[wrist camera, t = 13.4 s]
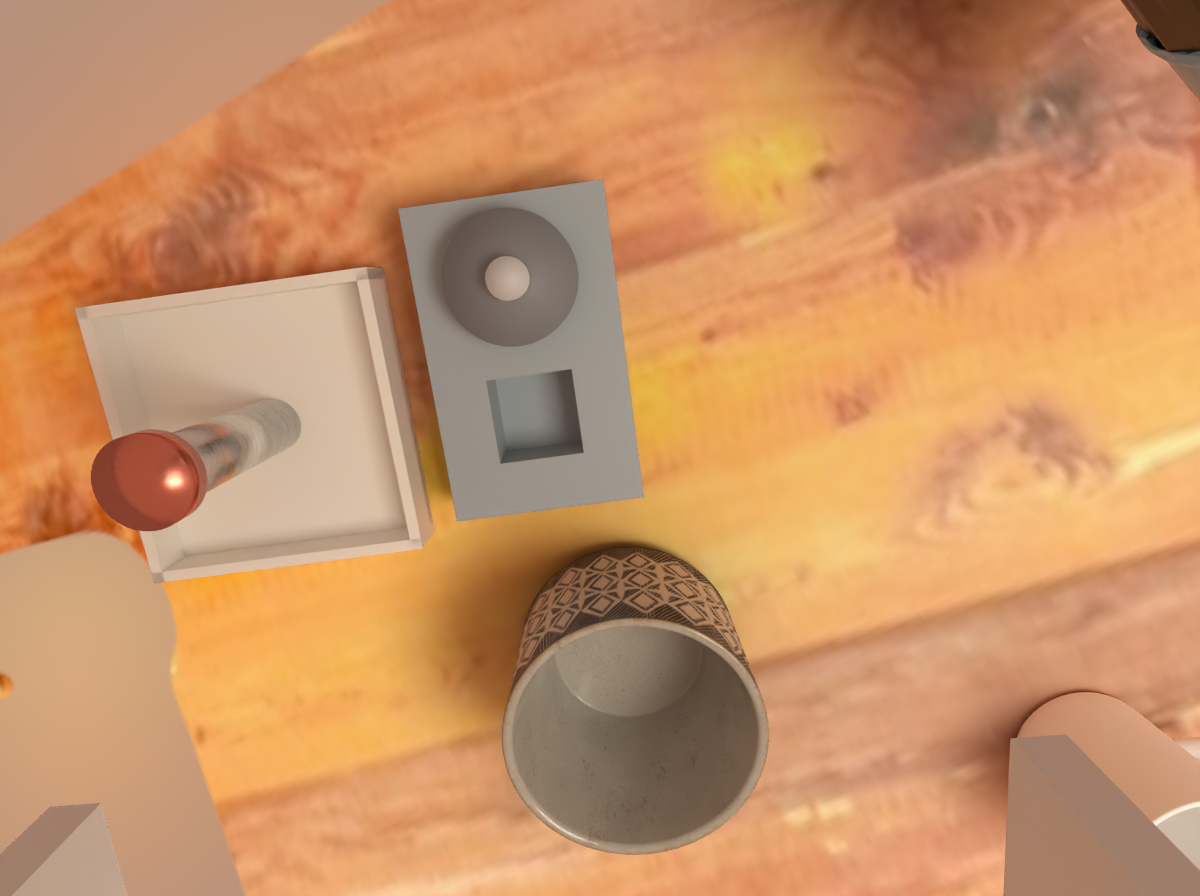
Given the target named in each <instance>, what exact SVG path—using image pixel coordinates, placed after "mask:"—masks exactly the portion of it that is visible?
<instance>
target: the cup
mask: <svg viewBox="0 0 1200 896" xmlns="http://www.w3.org/2000/svg"><path fill="white" fill-rule="evenodd" d="M1064 734H1066V735H1067V736H1068V737H1069V738H1070V739H1071V740H1072V741H1073V742H1074V743H1075V744H1076V745H1077V746H1078V747H1079V748H1080V749H1081V750H1082V751H1083V752H1084V753H1085V754H1086V755H1087V756H1088V757H1089V758H1090V759H1091V760H1092V761H1093V762H1094V763H1095V764H1096V765H1097V766H1098V767H1099V768H1100V769H1101V770H1102V772H1103V773H1104V774H1105V775H1106V776H1107V777H1108V778H1109V779H1110V780H1111V781H1112V782H1113V783H1114V784H1115V785H1116V786H1117V787H1118V788H1119V789H1120V790H1121V791H1122V792H1123V793H1124V794H1125V795H1126V796H1127V797H1128V798H1129V799H1130V800H1131V801H1132V802H1133V803H1134V804H1135V805H1136V806H1137V807H1138V808H1139V809H1140V810H1141V811H1142V812H1143V813H1144V814H1145V815H1146V816H1147V817H1148V818H1149V819H1150V820H1151V821H1152V822H1153V823H1154V824H1155V825H1156V826H1157V827H1158V828H1159V830H1160V831H1161V832H1162V833H1163V834H1164V835H1165V836H1166V837H1167V838H1168V839H1169V840H1170V841H1171V842H1172V843H1173V844H1174V845H1175V846H1176V847H1177V848H1178V849H1179V850H1180V851H1181V852H1182V853H1183V854H1184V855H1185V856H1186V857H1187V858H1188V859H1189V860H1190V861H1191V862H1192V863H1193V864H1194V865H1195V866H1196V867H1197V868H1198V869H1199V870H1200V761H1198V760H1197V759H1200V738H1196V737H1191V738H1178V739H1171V738H1170V737H1168V736H1167V735H1166V734H1165V733H1163V732H1162V731H1161V730H1160V729H1158V728H1157V727H1156V726H1155V725H1153V724H1152V723H1151V722H1150V721H1148V720H1147V719H1146V718H1145V717H1143V716H1142V715H1141V714H1140V713H1138V712H1137V711H1136V710H1134V709H1133V708H1132V707H1130V706H1129V705H1127V704H1125V703H1124V702H1122V701H1120V700H1118V699H1116V698H1114V697H1111V696H1108V695H1104V694H1100V693H1093V692H1078V693H1071V694H1066V695H1063V696H1060V697H1057V698H1054V699H1052V700H1050V701H1048V702H1047V703H1045V704H1043V705H1042V706H1040V707H1039V708H1038V709H1037V710H1035V711H1034V712H1033V713H1032V714H1031V715H1030V716H1029V717H1028V719H1027V720H1026V721H1025V722H1024V724H1023V725H1022V727H1021V729H1020V731H1019V733H1018V735H1017V738H1022V737H1036V736H1050V735H1064Z"/></svg>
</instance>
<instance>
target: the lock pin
mask: <svg viewBox="0 0 1200 896" xmlns="http://www.w3.org/2000/svg"><path fill="white" fill-rule="evenodd" d="M300 432H301V422H300V418H299V416H298V414H297V412H296V411H295V410H294V409H293V408H292V407H291V406H290V405H289V404H288V403H286V402H284V401H282V400H279V399H265V400H262V401H259V402H256V403H254V404H251V405H248V406H245V407H242V408H240V409H237V410H234V411H231V412H228V413H226V414H223V415H220V416H217V417H214V418H211V419H209V420H206V421H203V422H200V423H197V424H195V425H192V426H189V427H186V428H183V429H181V430H178V431H175V432H172V433H171V432H168V431H164V430H159V429H147V430H141V431H138V432H135V433H132V434H129V435H126V436H123V437H120V438H117V439H114V440H113V441H111V442H109V443H108V444H106V445H105V446H104V447H103V448H102V449H101V450H100V451H99V453H98V454H97V456H96V458H95V460H94V462H93V465H92V470H91V483H92V488H93V492H94V494H95V497H96V499H97V501H98V503H99V504H100V506H101V507H102V508H103V510H104V511H105V512H106V513H107V514H108V515H109V516H110V517H111V518H113V519H114V520H115V521H117V522H118V523H120V524H122V525H124V526H126V527H128V528H131V529H134V530H139V531H158V530H162V529H165V528H168V527H170V526H172V525H173V524H175V523H177V522H179V521H180V520H182V519H184V518H186V517H187V516H189V515H190V514H192V513H193V512H194V511H195V510H196V509H198V507H199V506H200V505H201V503H202V501H203V500H204V497H205V495H206V492H208V491H210V490H212V489H214V488H216V487H217V486H219V485H221V484H223V483H225V482H227V481H229V480H230V479H232V478H234V477H236V476H238V475H240V474H242V473H243V472H245V471H247V470H249V469H251V468H253V467H255V466H256V465H258V464H260V463H262V462H264V461H266V460H268V459H269V458H271V457H273V456H275V455H277V454H279V453H281V452H282V451H284V450H286V449H288V448H290V447H291V446H293V445H294V444H295V443H296V441H297V440H298V438H299V436H300Z"/></svg>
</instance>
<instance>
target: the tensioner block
mask: <svg viewBox="0 0 1200 896" xmlns="http://www.w3.org/2000/svg"><path fill="white" fill-rule="evenodd" d="M398 211H399V217H400V222H401V227H402V233H403V238H404V243H405V248H406V254H407V259H408V264H409V270H410V275H411V280H412V286H413V291H414V296H415V301H416V307H417V312H418V317H419V323H420V328H421V333H422V339H423V344H424V349H425V354H426V360H427V365H428V370H429V376H430V381H431V386H432V392H433V397H434V402H435V407H436V413H437V418H438V423H439V429H440V434H441V439H442V444H443V450H444V455H445V460H446V466H447V471H448V476H449V482H450V487H451V492H452V497H453V503H454V508H455V513H456V519H457V521H464V520H472V519H480V518H487V517H495V516H503V515H510V514H518V513H526V512H534V511H541V510H549V509H557V508H564V507H572V506H580V505H587V504H595V503H603V502H610V501H618V500H626V499H633V498H641V497H644V494H643V487H642V479H641V471H640V463H639V455H638V448H637V440H636V432H635V424H634V416H633V409H632V401H631V393H630V385H629V377H628V369H627V362H626V354H625V346H624V338H623V330H622V323H621V315H620V307H619V299H618V291H617V284H616V276H615V268H614V260H613V252H612V244H611V237H610V229H609V221H608V213H607V205H606V198H605V190H604V182H603V179H602V180H595V181H588V182H581V183H574V184H567V185H560V186H553V187H546V188H539V189H532V190H525V191H518V192H511V193H505V194H498V195H491V196H484V197H477V198H470V199H463V200H456V201H449V202H442V203H435V204H428V205H421V206H414V207H407V208H400V209H398Z"/></svg>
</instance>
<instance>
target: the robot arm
mask: <svg viewBox="0 0 1200 896" xmlns="http://www.w3.org/2000/svg"><path fill="white" fill-rule="evenodd" d="M1121 1H1122V3H1123V4H1124V6H1125V7H1126V8H1127V10H1128V11H1129V12H1130V14H1131V15H1132V17H1133V18H1134V19H1135V21H1136V22H1137V26H1136V34H1137V35H1138V37H1139V39H1140V40H1141V42H1142V44H1143V45H1144V46H1145V47H1146V48H1147V49H1148V50H1149V51H1150V52H1151V53H1153V54H1155V55H1157V56H1158V57H1160V58H1162V59H1164V60H1166V61H1167V62H1168V63H1169V64H1170V66H1171V67H1172V68H1173V69H1174V70H1175V72H1176V73H1177V74H1178V75H1179V76H1180V78H1181V79H1182V80H1183V81H1184V83H1185V84H1186V85H1187V86H1188V87H1189V89H1190V90H1191V91H1192V92H1193V93H1194V95H1195V96H1196V97H1197V98H1198V99H1199V100H1200V0H1121ZM0 896H128V895H127V891H126V887H125V884H124V881H123V877H122V874H121V871H120V867H119V864H118V860H117V857H116V854H115V850H114V847H113V843H112V840H111V837H110V833H109V830H108V826H107V823H106V820H105V816H104V813H103V809H102V806H101V804H100V803H97V804H83V805H70V806H55V807H49V808H48V809H47V810H46V811H45V812H44V813H43V814H42V815H41V816H40V817H39V818H38V819H37V820H36V821H35V822H34V823H33V824H32V825H31V826H30V827H28V829H26V830H25V831H24V832H23V833H22V834H21V835H20V836H19V837H18V838H17V839H16V840H15V841H14V842H13V843H12V844H11V845H10V846H9V847H7V848H6V849H5V850H4V851H3V853H1V854H0ZM1003 896H1200V870H1199V869H1198V868H1197V867H1196V866H1195V865H1194V864H1193V863H1192V862H1191V861H1190V860H1189V859H1188V858H1187V857H1186V856H1185V855H1184V854H1183V853H1182V852H1181V851H1180V850H1179V849H1178V848H1177V847H1176V846H1175V845H1174V844H1173V843H1172V842H1171V841H1170V840H1169V839H1168V838H1167V837H1166V836H1165V835H1164V834H1163V833H1162V832H1161V831H1160V830H1159V828H1158V827H1157V826H1156V825H1155V824H1154V823H1153V822H1152V821H1151V820H1150V819H1149V818H1148V817H1147V816H1146V815H1145V814H1144V813H1143V812H1142V811H1141V810H1140V809H1139V808H1138V807H1137V806H1136V805H1135V804H1134V803H1133V802H1132V801H1131V800H1130V799H1129V798H1128V797H1127V796H1126V795H1125V794H1124V793H1123V792H1122V791H1121V790H1120V789H1119V788H1118V787H1117V786H1116V785H1115V784H1114V783H1113V782H1112V781H1111V780H1110V779H1109V778H1108V777H1107V776H1106V775H1105V774H1104V773H1103V772H1102V770H1101V769H1100V768H1099V767H1098V766H1097V765H1096V764H1095V763H1094V762H1093V761H1092V760H1091V759H1090V758H1089V757H1088V756H1087V755H1086V754H1085V753H1084V752H1083V751H1082V750H1081V749H1080V748H1079V747H1078V746H1077V745H1076V744H1075V743H1074V742H1073V741H1072V740H1071V739H1070V738H1069V737H1068V736H1067V735H1066V734H1064V735H1050V736H1036V737H1022V738H1010V757H1009V780H1008V803H1007V826H1006V849H1005V872H1004V895H1003Z"/></svg>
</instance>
